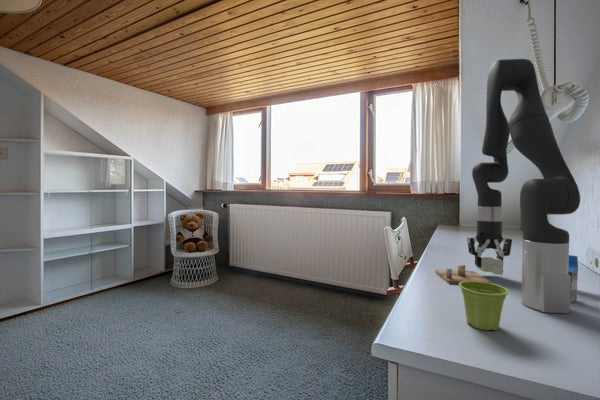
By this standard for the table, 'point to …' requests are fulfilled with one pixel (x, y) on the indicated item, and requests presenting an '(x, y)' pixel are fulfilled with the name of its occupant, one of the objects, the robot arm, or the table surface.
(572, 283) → the label tape box
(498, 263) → the square ring with handle
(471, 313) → the plant pot
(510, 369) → the table surface
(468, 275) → the locating plate
